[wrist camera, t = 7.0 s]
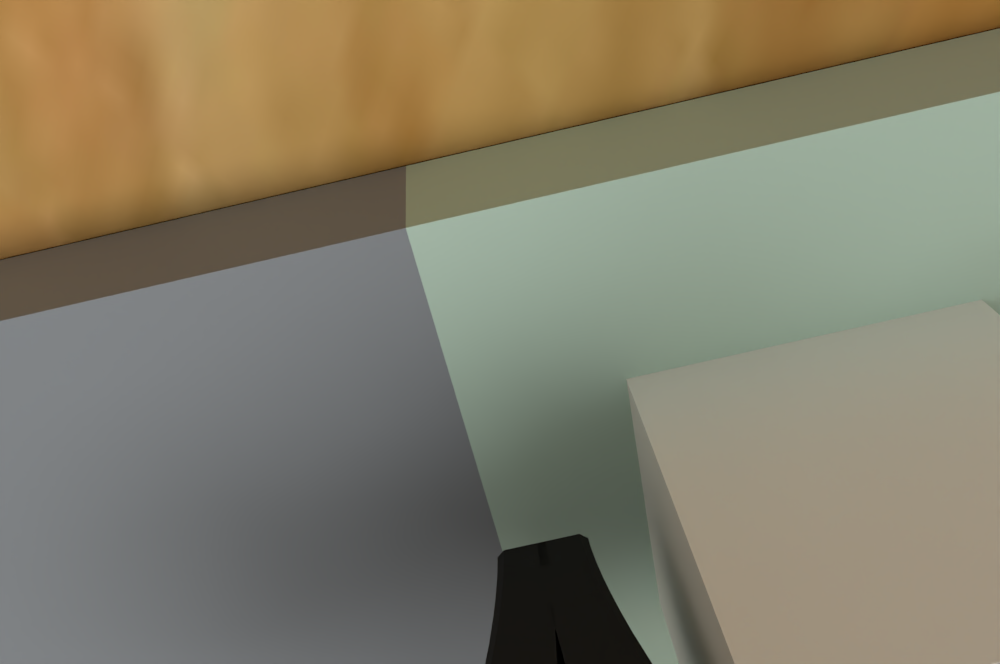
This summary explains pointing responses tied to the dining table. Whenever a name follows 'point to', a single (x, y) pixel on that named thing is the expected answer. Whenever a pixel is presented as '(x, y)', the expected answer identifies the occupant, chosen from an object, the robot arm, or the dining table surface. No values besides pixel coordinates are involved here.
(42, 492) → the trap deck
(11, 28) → the dining table surface
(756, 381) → the block
